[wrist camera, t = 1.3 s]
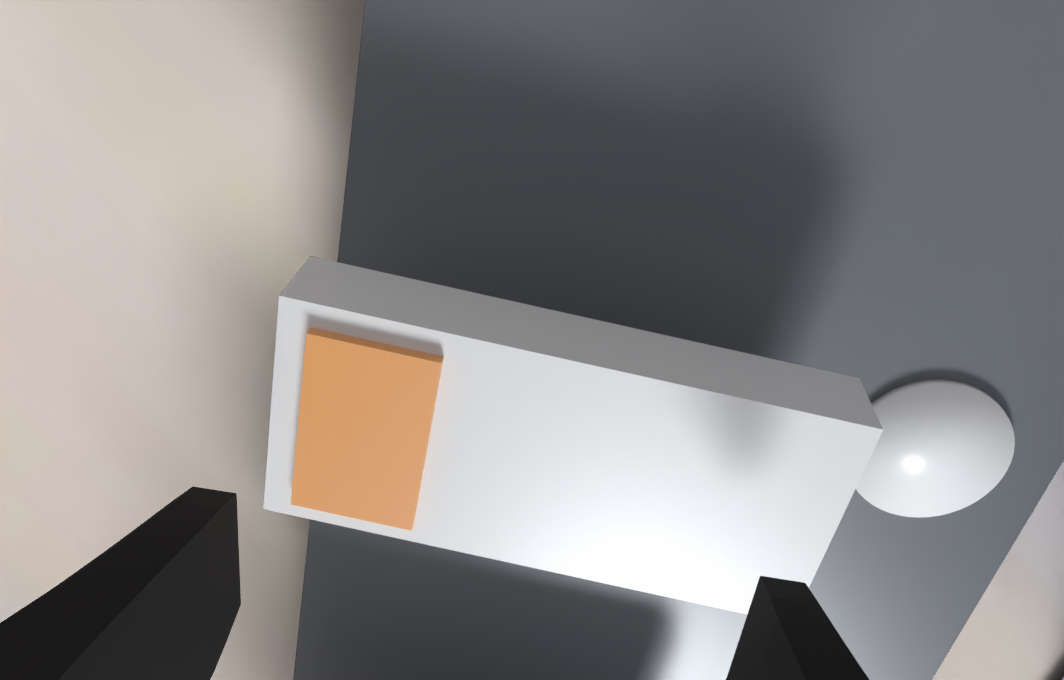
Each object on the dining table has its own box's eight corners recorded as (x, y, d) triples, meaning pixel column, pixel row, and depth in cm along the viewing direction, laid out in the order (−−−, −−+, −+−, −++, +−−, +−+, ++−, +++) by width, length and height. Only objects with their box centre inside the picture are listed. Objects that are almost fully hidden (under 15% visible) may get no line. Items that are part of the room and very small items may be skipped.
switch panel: (1420, -404, 13) (1641, -481, 10) (784, 791, 26) (804, 902, 23) (481, -627, 13) (441, -769, 10) (317, 690, 26) (279, 790, 23)
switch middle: (859, 377, 14) (887, 437, 13) (777, 562, 16) (793, 633, 15) (311, 255, 14) (274, 301, 13) (293, 456, 16) (258, 517, 15)
